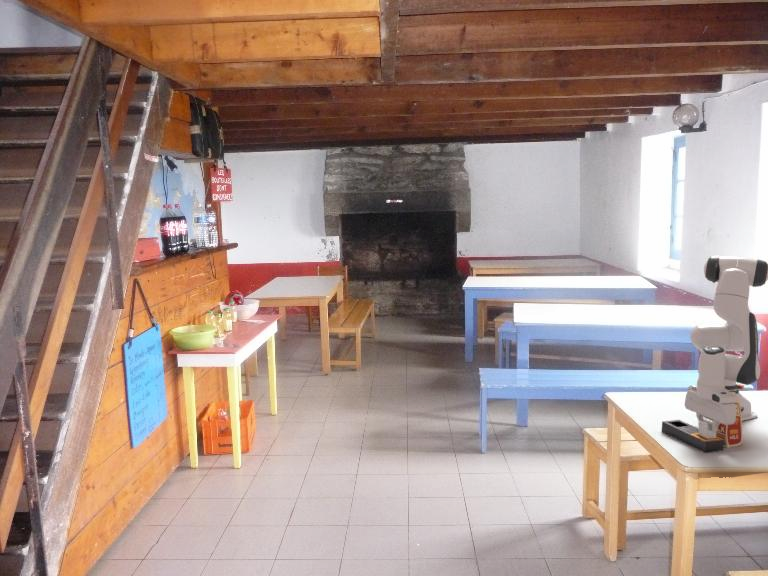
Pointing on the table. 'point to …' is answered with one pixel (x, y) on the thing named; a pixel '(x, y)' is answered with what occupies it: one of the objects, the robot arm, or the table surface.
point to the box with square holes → (691, 436)
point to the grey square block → (706, 429)
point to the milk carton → (732, 429)
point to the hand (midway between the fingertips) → (707, 428)
